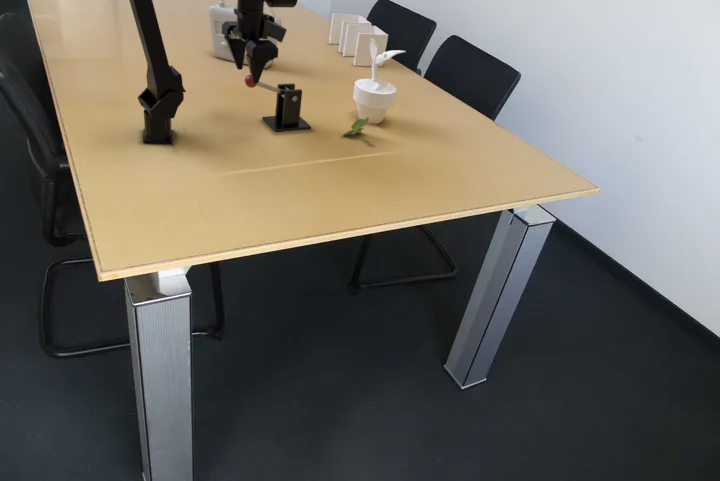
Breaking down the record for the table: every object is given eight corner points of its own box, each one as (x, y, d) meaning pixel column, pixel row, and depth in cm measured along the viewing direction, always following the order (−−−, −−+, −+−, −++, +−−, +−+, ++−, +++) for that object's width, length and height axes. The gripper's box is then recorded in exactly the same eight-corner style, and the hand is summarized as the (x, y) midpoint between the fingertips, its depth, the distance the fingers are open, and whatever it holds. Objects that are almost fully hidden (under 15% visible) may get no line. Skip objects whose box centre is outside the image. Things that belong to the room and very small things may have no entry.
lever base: (275, 134, 140) (278, 94, 134) (262, 121, 145) (264, 82, 139) (310, 130, 145) (315, 92, 139) (297, 118, 150) (300, 80, 145)
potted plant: (355, 128, 151) (371, 32, 137) (344, 110, 160) (358, 19, 146) (399, 129, 155) (418, 37, 141) (386, 112, 164) (403, 24, 150)
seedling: (357, 158, 147) (344, 138, 148) (383, 141, 147) (369, 121, 148) (355, 151, 140) (340, 130, 141) (381, 134, 140) (367, 112, 141)
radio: (205, 57, 179) (205, -28, 165) (216, 51, 186) (217, -32, 172) (269, 72, 176) (275, -13, 163) (279, 65, 183) (285, -17, 169)
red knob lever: (245, 87, 132) (250, 75, 130) (241, 82, 134) (245, 71, 132) (294, 103, 141) (299, 92, 140) (289, 99, 143) (293, 88, 142)
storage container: (382, 66, 201) (388, 35, 195) (354, 65, 196) (359, 33, 190) (355, 44, 219) (359, 15, 213) (328, 43, 214) (332, 13, 208)
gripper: (302, 19, 123) (296, 88, 131) (265, -4, 135) (262, 61, 143) (255, 19, 117) (251, 91, 125) (221, -5, 129) (220, 63, 138)
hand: (247, 76), depth 133 cm, fingers open, 9 cm apart
